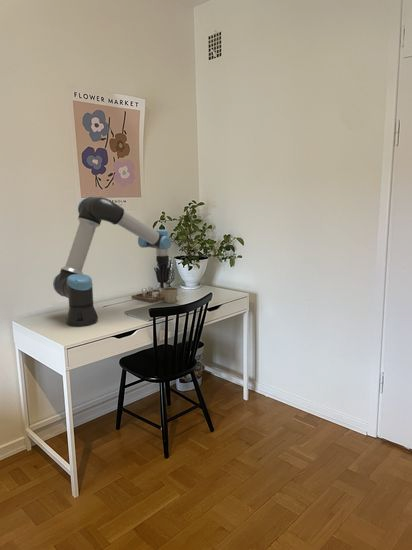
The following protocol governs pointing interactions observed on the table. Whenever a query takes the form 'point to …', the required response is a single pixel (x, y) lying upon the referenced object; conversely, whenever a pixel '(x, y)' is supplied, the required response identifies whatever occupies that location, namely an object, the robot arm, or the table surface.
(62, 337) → the table surface
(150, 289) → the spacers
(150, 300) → the tray
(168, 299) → the flower pot
